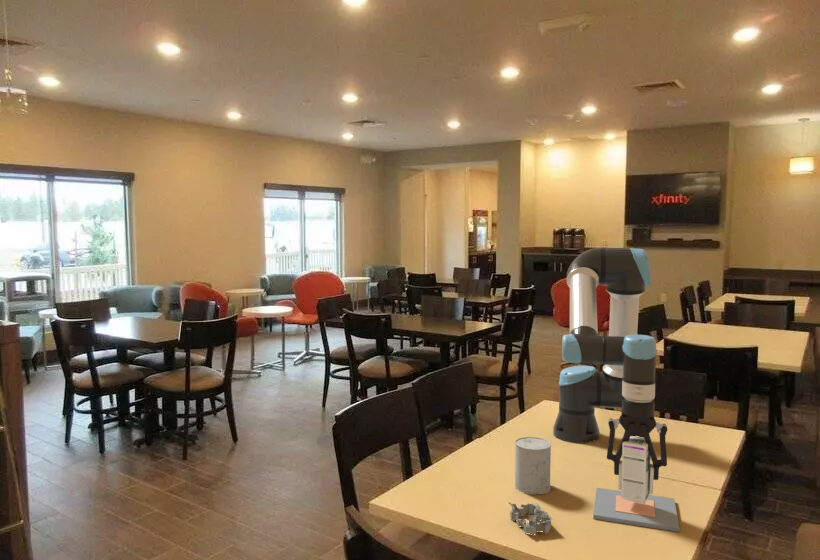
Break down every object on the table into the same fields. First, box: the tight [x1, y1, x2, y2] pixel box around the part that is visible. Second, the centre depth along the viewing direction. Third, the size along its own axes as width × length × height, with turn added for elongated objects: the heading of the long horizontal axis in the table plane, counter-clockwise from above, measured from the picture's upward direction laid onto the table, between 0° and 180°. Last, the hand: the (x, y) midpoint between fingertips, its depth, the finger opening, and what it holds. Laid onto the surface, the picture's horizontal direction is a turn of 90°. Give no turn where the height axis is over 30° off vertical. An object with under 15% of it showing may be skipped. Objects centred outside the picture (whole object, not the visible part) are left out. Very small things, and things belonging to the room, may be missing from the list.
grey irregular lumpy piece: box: [508, 501, 554, 535], centre depth 141 cm, size 11×8×4 cm
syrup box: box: [620, 436, 651, 504], centre depth 147 cm, size 6×6×14 cm
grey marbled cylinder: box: [514, 436, 552, 495], centre depth 161 cm, size 10×10×12 cm
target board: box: [592, 487, 680, 532], centre depth 148 cm, size 19×16×1 cm
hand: (635, 489), depth 147 cm, fingers closed on syrup box, 6 cm apart
